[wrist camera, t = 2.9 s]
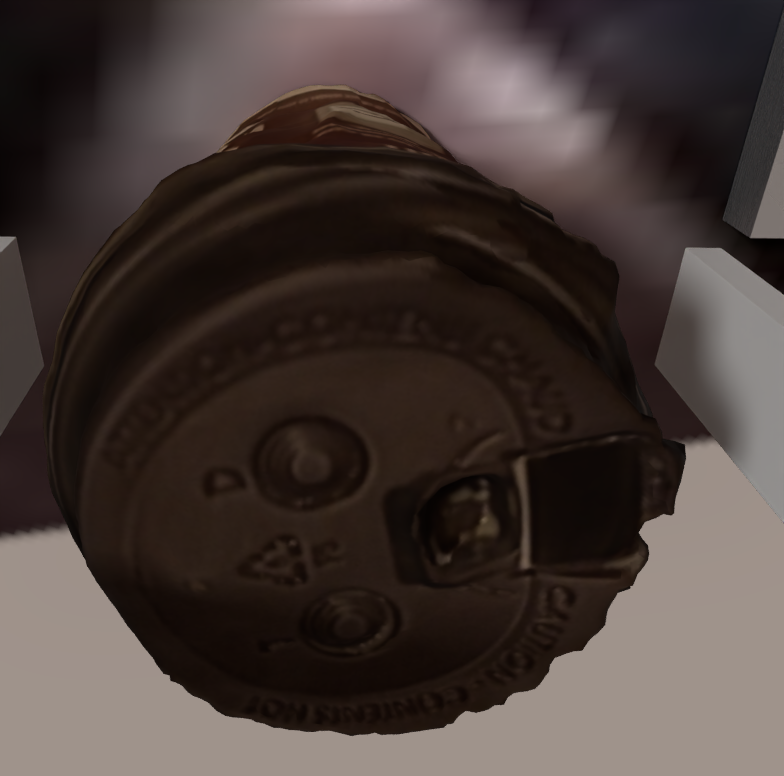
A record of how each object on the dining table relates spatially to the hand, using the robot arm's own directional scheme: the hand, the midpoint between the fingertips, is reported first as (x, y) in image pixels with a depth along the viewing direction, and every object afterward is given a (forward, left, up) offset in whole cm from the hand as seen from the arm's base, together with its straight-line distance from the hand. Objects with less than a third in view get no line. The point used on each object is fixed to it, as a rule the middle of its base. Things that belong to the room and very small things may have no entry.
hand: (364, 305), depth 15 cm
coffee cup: (0, 0, -6) cm, 6 cm away
